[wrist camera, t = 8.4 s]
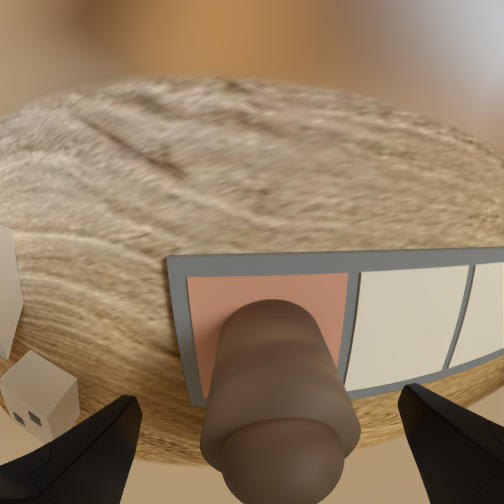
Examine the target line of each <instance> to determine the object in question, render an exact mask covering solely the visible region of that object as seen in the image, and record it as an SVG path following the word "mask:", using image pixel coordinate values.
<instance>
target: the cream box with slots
mask: <svg viewBox="0 0 504 504" xmlns="http://www.w3.org/2000/svg"><path fill="white" fill-rule="evenodd" d="M0 390H1V393H2V396H3V399H4V402H5V404H6V407H7V409H8V412H9V414H10V417H11V419H12V420H13V421H15V422H16V423H17V424H19V425H20V426H21V427H23V428H24V429H25V430H27V431H28V432H29V433H31V434H32V435H34V436H35V437H37V438H38V439H40V440H41V441H42V442H44V443H46V444H47V443H49V442H52V440H54V439H55V438H57V437H59V436H60V435H62V434H63V433H65V432H67V431H68V430H70V429H71V428H72V426H73V425H74V423H75V422H76V420H77V419H78V417H79V415H80V408H79V397H78V383H77V378H76V377H74V376H72V375H71V374H69V373H67V372H65V371H64V370H62V369H60V368H59V367H57V366H55V365H54V364H52V363H51V362H49V361H47V360H46V359H44V358H43V357H41V356H40V355H38V354H37V353H35V352H34V351H32V350H30V351H29V352H27V353H26V354H25V355H24V356H23V357H22V358H21V359H20V360H19V361H18V362H17V363H15V364H14V365H13V366H12V367H11V368H10V369H9V370H8V371H7V372H6V373H5V374H4V375H3V376H2V377H1V378H0Z"/></svg>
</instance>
